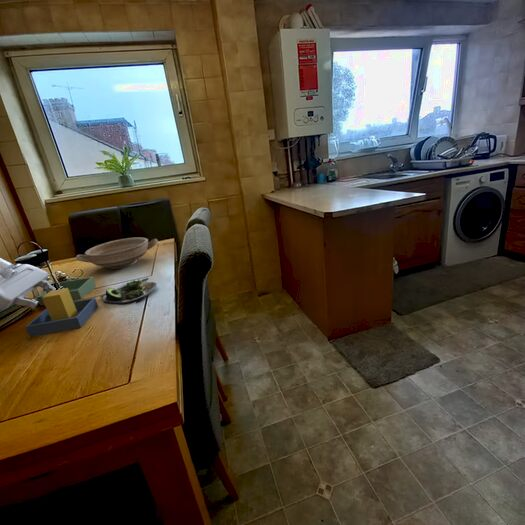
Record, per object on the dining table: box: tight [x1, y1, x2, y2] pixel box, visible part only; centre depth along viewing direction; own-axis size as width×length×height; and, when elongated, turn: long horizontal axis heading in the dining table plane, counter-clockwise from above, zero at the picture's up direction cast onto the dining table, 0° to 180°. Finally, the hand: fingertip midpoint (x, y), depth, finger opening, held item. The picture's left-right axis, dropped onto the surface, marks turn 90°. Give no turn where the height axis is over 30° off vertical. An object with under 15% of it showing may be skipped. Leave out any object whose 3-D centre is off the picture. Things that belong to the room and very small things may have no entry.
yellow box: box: [42, 288, 78, 321], centre depth 86 cm, size 5×5×10 cm
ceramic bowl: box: [75, 236, 158, 270], centre depth 139 cm, size 37×29×10 cm
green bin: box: [36, 276, 96, 307], centre depth 108 cm, size 14×13×4 cm
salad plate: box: [99, 277, 158, 306], centre depth 103 cm, size 19×18×5 cm
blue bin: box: [25, 297, 99, 338], centre depth 88 cm, size 14×13×4 cm
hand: (45, 297), depth 85 cm, fingers open, 8 cm apart
